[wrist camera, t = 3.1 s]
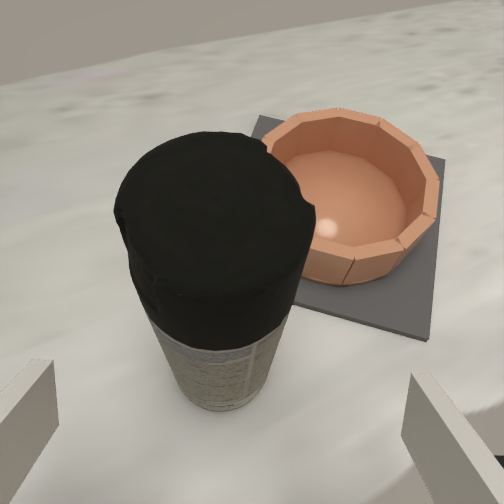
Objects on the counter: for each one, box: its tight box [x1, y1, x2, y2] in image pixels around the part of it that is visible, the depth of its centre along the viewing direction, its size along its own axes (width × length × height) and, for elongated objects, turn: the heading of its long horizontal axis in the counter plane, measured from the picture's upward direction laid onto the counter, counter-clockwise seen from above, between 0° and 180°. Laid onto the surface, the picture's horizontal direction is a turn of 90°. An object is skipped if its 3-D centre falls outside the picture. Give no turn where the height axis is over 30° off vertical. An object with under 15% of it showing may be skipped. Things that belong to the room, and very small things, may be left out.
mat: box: [251, 115, 445, 342], centre depth 38 cm, size 18×18×1 cm
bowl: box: [262, 108, 440, 286], centre depth 35 cm, size 14×14×5 cm
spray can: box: [114, 131, 316, 411], centre depth 22 cm, size 7×7×20 cm
